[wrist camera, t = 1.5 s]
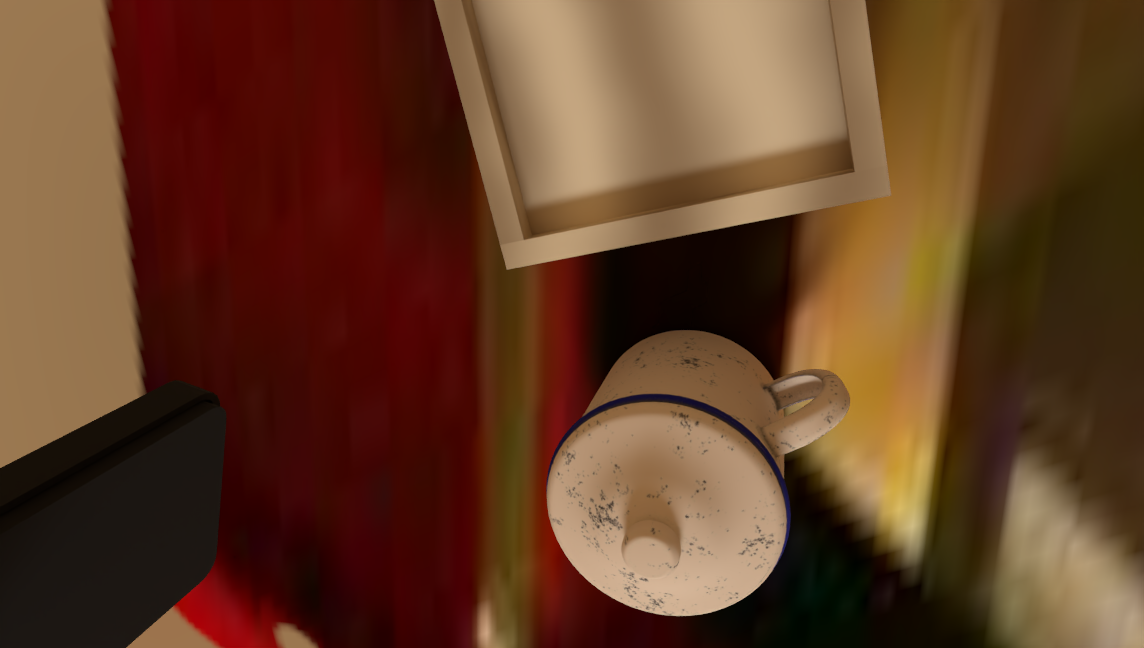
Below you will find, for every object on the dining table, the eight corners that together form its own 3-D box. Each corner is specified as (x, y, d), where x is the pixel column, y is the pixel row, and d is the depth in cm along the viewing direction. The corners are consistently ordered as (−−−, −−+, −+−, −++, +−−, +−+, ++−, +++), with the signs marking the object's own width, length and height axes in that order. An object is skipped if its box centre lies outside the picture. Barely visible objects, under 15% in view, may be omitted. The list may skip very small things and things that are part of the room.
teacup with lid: (659, 523, 38) (609, 700, 27) (562, 375, 37) (470, 498, 26) (887, 427, 33) (934, 595, 22) (784, 254, 32) (783, 345, 21)
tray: (818, -215, 27) (826, -289, 21) (872, 173, 30) (891, 195, 25) (469, -86, 31) (401, -120, 26) (551, 238, 35) (507, 269, 29)
